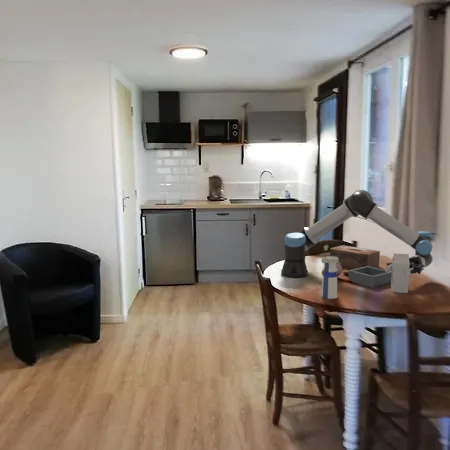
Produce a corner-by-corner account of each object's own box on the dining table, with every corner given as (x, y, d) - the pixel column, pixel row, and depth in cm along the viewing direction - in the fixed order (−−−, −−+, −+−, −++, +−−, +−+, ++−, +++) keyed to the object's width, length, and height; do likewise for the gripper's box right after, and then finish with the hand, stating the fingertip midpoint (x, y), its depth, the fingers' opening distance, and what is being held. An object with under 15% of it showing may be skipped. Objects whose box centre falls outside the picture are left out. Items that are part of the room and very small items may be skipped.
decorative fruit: (335, 275, 260) (336, 258, 258) (344, 279, 252) (345, 261, 251) (321, 277, 256) (322, 259, 255) (330, 281, 249) (330, 263, 247)
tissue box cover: (379, 266, 280) (379, 250, 279) (367, 271, 270) (368, 254, 269) (341, 260, 298) (342, 245, 297) (329, 264, 288) (330, 248, 287)
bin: (373, 287, 235) (373, 276, 234) (348, 281, 248) (348, 270, 247) (392, 282, 244) (392, 271, 244) (367, 276, 257) (367, 266, 256)
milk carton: (408, 293, 226) (410, 255, 223) (392, 292, 227) (394, 255, 224) (405, 289, 233) (407, 252, 230) (390, 288, 234) (392, 252, 231)
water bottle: (316, 296, 222) (317, 245, 218) (326, 292, 228) (327, 243, 224) (331, 300, 216) (332, 248, 212) (340, 296, 222) (342, 245, 218)
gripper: (436, 274, 234) (418, 282, 218) (394, 266, 249) (374, 274, 233) (437, 259, 233) (419, 267, 217) (394, 253, 248) (375, 260, 232)
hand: (396, 271), depth 225 cm, fingers closed on milk carton, 10 cm apart
